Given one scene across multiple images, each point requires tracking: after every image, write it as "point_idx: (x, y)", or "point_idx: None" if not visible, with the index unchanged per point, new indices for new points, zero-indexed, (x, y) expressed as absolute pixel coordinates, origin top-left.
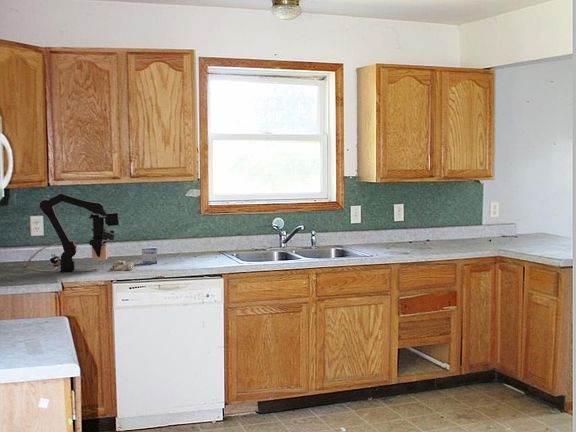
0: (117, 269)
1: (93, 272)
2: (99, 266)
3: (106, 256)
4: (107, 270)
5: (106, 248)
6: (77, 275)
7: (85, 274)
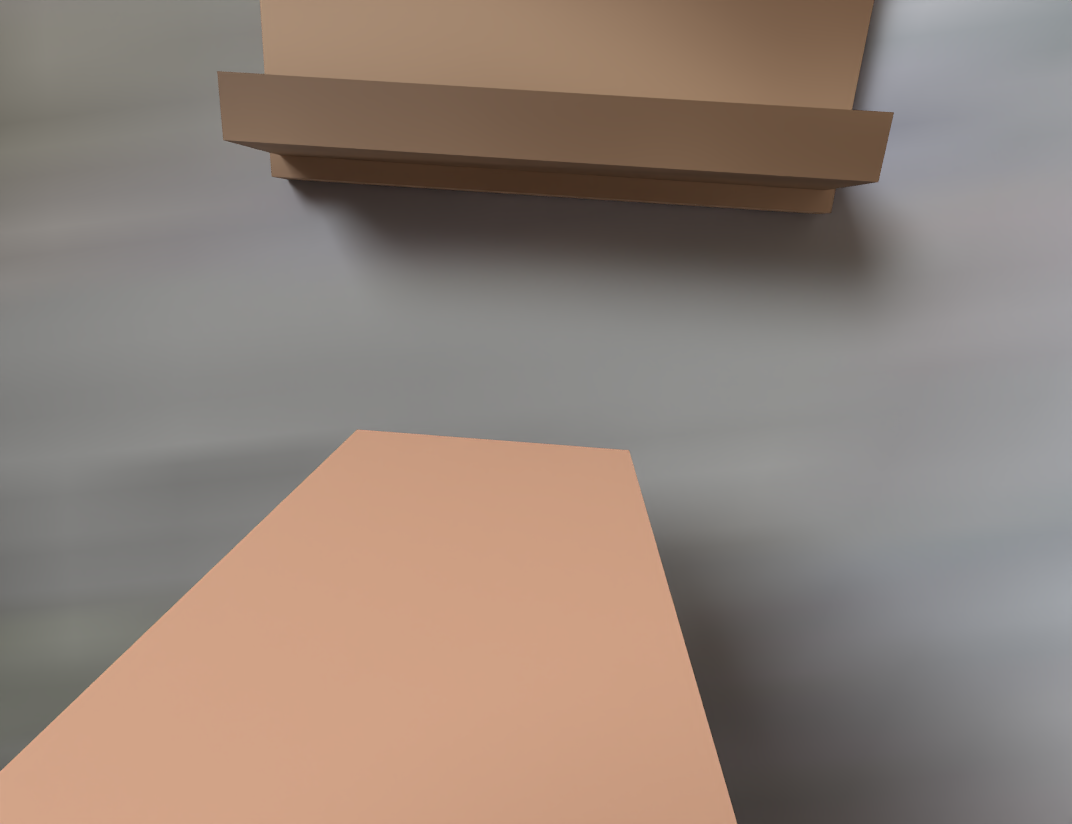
0: (832, 45)
1: (847, 592)
2: (192, 545)
3: (489, 484)
4: (701, 331)
5: (188, 817)
6: (1044, 813)
7: (1007, 706)
